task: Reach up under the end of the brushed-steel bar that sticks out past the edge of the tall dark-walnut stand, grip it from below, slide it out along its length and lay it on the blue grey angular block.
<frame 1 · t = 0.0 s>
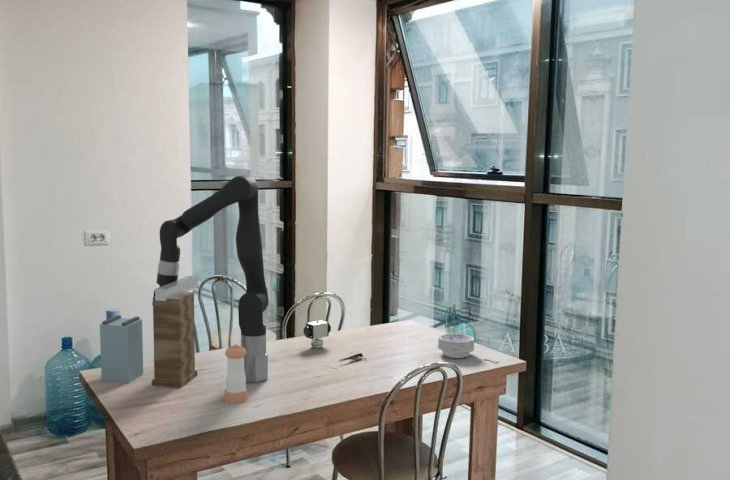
hand: (163, 313, 251), 22 cm above the table, tool pointing down, fingers open, 8 cm apart
hacksaw: (347, 364, 268), on the table
pepper shaker: (236, 400, 226), on the table
pneumatic valve: (316, 347, 290), on the table
blue grey angular block: (122, 377, 245), on the table
grey stone bowl: (455, 355, 282), on the table
tall stand: (175, 380, 243), on the table
steel bar: (177, 293, 242), point 32 cm above the table, touching tall stand
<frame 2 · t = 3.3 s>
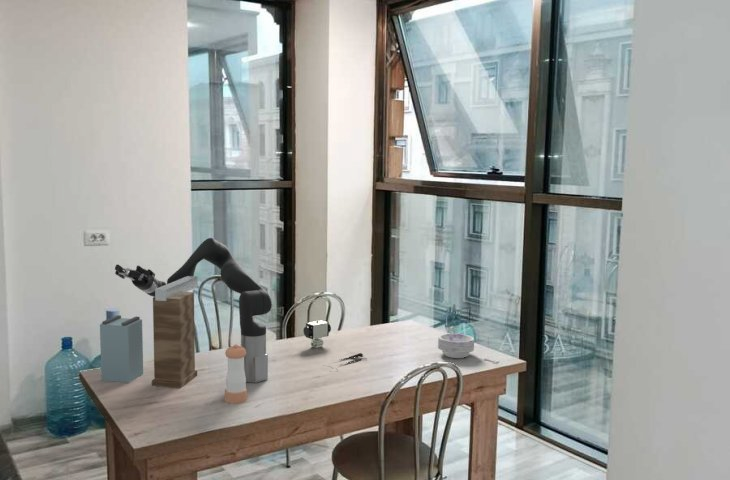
hand: (126, 267, 253), 39 cm above the table, tool pointing upward, fingers open, 8 cm apart
nothing on the table moved.
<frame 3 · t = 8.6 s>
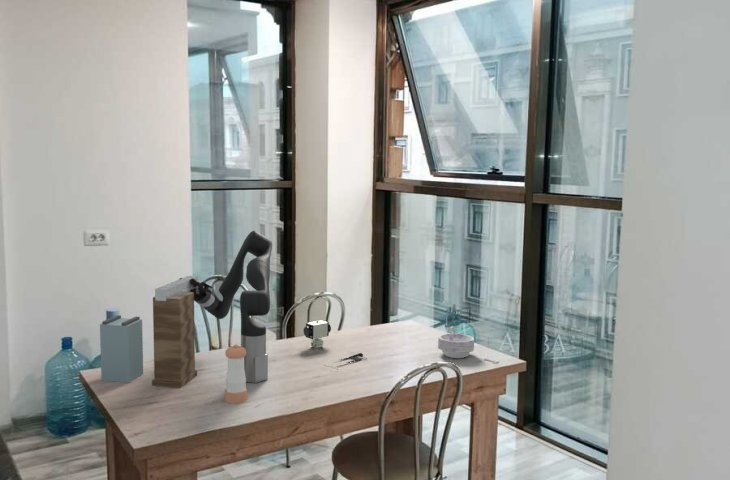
hand: (186, 280, 248), 35 cm above the table, tool pointing upward, fingers closed on steel bar, 4 cm apart
steel bar: (177, 293, 242), point 32 cm above the table, touching gripper, tall stand
everything else where it was.
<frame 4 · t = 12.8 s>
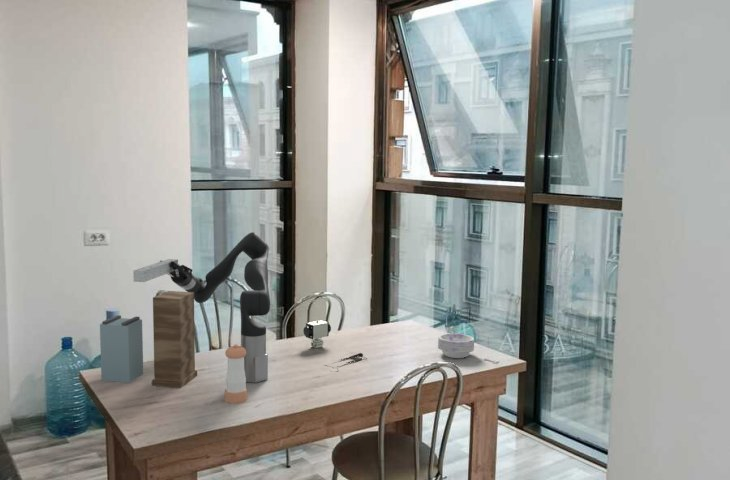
hand: (165, 263, 255), 41 cm above the table, tool pointing upward, fingers closed on steel bar, 4 cm apart
steel bar: (156, 275, 248), point 37 cm above the table, touching gripper
everything else where it was.
when the fingers open (26 cm above the table, at t = 17.1 s): steel bar drops 1 cm, resting on blue grey angular block.
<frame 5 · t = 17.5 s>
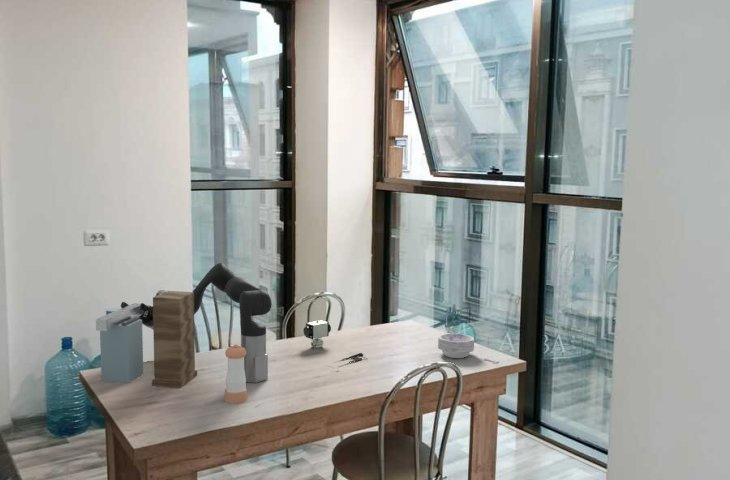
hand: (131, 305, 250), 26 cm above the table, tool pointing upward, fingers open, 7 cm apart
steel bar: (121, 321, 243), point 21 cm above the table, touching blue grey angular block
everything else where it was.
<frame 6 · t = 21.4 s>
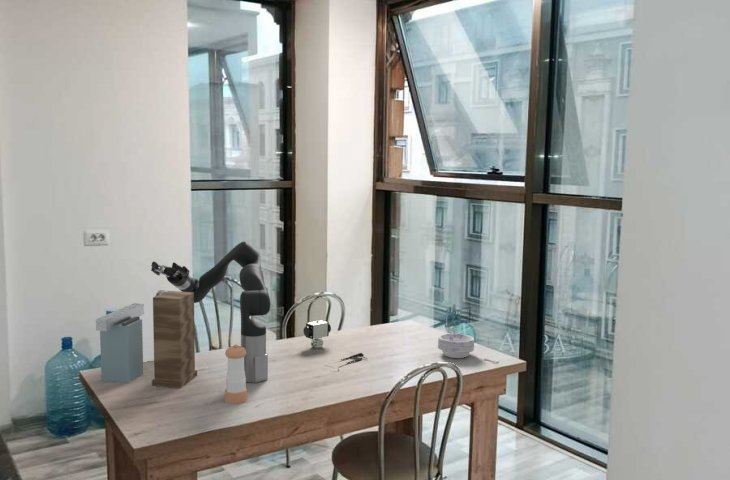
hand: (163, 264, 262), 39 cm above the table, tool pointing upward, fingers open, 8 cm apart
nothing on the table moved.
at the end: steel bar inside the target area on the blue grey angular block (0.0 cm from its centre), point 21.0 cm above the blue grey angular block's base; steel bar touching blue grey angular block; the gripper is holding nothing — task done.
